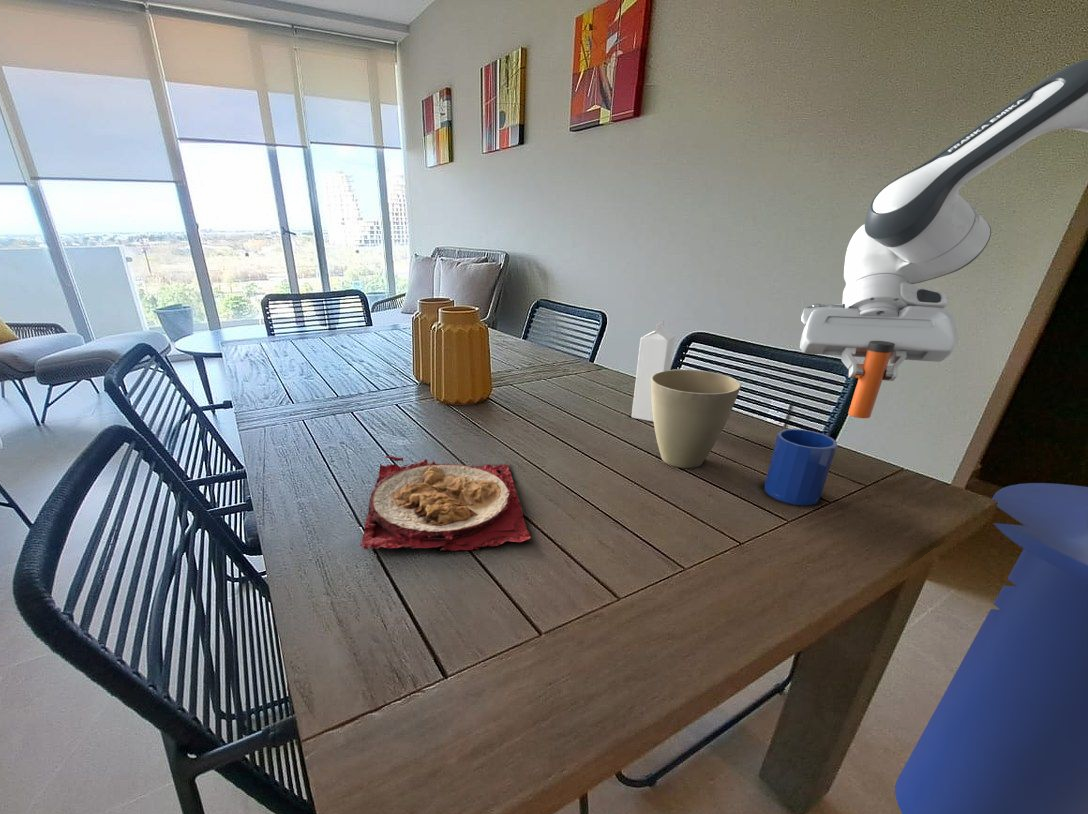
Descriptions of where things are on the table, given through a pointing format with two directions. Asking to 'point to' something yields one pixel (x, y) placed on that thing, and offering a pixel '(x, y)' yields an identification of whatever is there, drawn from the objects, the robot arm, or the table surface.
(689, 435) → the plant pot
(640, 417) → the milk
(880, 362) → the orange tube bottle
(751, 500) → the table surface
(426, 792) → the table surface
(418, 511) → the plate with food
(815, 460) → the cup
